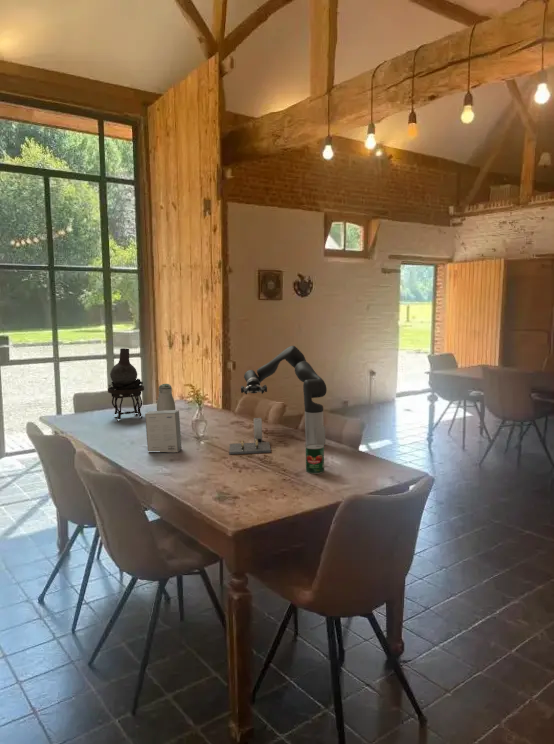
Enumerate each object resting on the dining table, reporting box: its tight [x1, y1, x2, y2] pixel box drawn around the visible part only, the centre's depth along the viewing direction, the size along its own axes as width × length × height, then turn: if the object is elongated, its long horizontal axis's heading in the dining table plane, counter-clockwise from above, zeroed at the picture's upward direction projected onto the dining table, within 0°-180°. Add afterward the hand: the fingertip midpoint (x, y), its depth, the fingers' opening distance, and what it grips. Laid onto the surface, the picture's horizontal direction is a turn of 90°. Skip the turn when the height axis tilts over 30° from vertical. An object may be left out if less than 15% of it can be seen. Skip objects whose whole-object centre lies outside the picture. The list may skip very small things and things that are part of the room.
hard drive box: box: [144, 409, 182, 453], centre depth 284 cm, size 16×8×20 cm, turn 84°
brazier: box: [107, 348, 145, 419], centre depth 368 cm, size 22×22×45 cm
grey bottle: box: [156, 383, 176, 411], centre depth 323 cm, size 10×10×28 cm
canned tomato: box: [305, 444, 325, 475], centre depth 244 cm, size 8×8×11 cm
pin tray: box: [228, 439, 272, 455], centre depth 283 cm, size 16×20×4 cm
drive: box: [253, 417, 263, 442], centre depth 297 cm, size 6×4×12 cm, turn 4°
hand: (254, 392), depth 306 cm, fingers open, 8 cm apart
